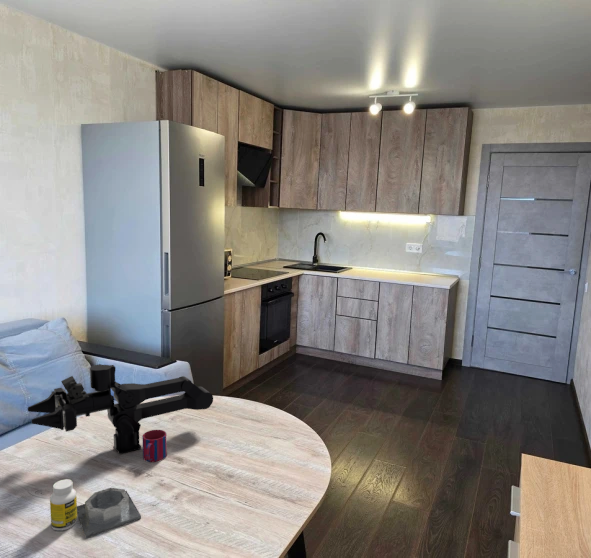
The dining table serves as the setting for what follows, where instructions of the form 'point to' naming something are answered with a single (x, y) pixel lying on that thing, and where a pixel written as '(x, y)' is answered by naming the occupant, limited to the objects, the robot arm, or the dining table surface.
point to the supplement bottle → (63, 505)
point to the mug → (154, 445)
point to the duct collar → (106, 511)
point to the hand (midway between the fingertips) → (29, 415)
